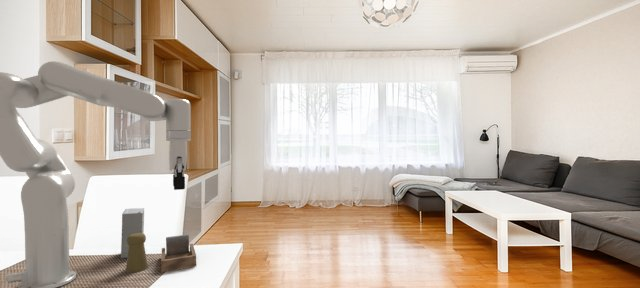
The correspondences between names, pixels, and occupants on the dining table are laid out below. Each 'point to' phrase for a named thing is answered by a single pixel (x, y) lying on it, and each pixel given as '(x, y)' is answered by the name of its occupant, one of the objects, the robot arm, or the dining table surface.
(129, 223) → the skincare box
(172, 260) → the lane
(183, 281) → the dining table surface
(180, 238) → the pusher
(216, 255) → the dining table surface
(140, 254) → the cork
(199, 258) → the dining table surface
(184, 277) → the dining table surface
